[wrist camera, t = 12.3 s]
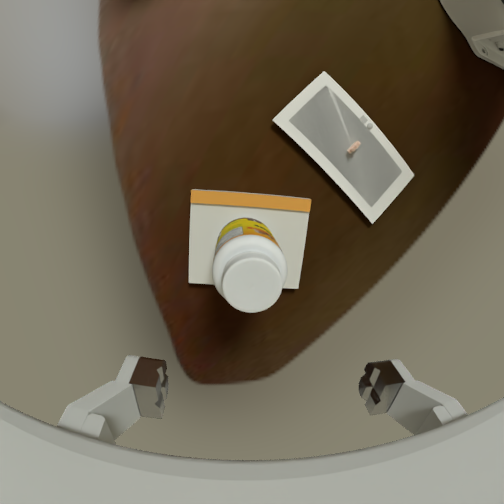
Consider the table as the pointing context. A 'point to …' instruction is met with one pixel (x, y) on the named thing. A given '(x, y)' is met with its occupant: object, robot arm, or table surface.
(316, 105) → the touchpad
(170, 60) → the table surface
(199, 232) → the notepad
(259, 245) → the supplement bottle
